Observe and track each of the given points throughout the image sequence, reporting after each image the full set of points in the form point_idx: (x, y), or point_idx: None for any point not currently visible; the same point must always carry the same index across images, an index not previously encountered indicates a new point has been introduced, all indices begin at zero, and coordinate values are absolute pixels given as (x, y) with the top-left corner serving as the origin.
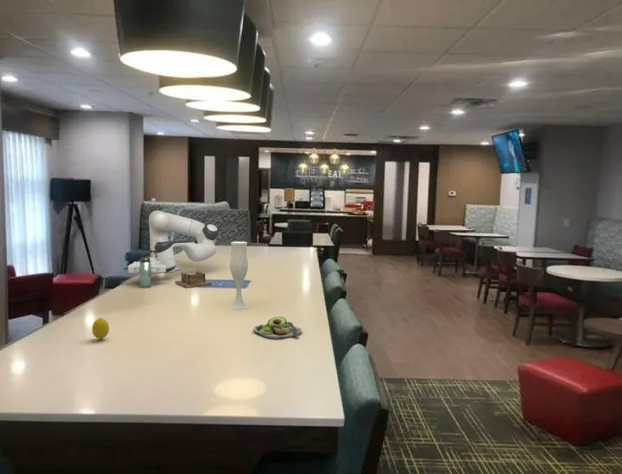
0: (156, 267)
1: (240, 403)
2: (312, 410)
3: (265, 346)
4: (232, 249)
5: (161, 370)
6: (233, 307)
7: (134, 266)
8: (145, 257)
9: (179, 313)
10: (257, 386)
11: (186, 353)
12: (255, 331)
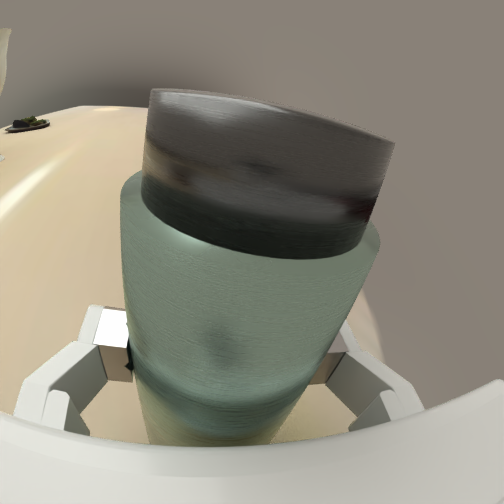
0: (11, 418)
1: (112, 107)
2: (86, 106)
3: (60, 119)
4: (7, 42)
5: (144, 114)
6: (1, 155)
7: (471, 403)
8: (339, 127)
9: (96, 148)
10: (97, 109)
11: (122, 117)
12: (49, 123)
